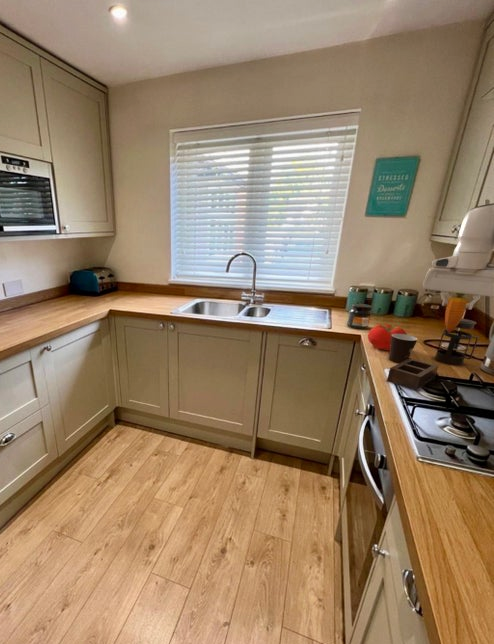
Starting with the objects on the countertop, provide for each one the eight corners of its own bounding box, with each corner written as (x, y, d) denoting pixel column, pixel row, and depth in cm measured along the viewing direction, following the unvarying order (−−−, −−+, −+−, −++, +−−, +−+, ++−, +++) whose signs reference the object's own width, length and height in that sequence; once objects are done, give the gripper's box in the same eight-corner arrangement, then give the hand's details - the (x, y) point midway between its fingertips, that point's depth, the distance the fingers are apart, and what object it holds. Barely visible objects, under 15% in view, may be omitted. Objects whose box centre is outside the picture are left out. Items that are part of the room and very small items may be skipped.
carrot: (457, 331, 108) (471, 285, 103) (460, 335, 104) (474, 287, 99) (438, 329, 110) (451, 283, 105) (440, 332, 106) (454, 285, 101)
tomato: (407, 348, 147) (413, 326, 144) (397, 356, 136) (403, 333, 133) (373, 340, 157) (377, 320, 153) (360, 347, 146) (365, 326, 142)
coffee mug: (398, 365, 127) (405, 341, 124) (380, 357, 135) (386, 334, 131) (421, 363, 130) (429, 339, 127) (402, 355, 138) (408, 332, 134)
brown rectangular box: (434, 378, 116) (438, 365, 114) (416, 391, 107) (420, 377, 105) (406, 370, 123) (409, 358, 121) (386, 381, 113) (390, 367, 112)
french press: (429, 359, 134) (446, 303, 126) (435, 354, 140) (452, 301, 132) (465, 368, 126) (486, 309, 118) (470, 363, 132) (491, 306, 124)
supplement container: (367, 330, 172) (372, 308, 168) (345, 327, 177) (349, 305, 173) (368, 326, 180) (373, 304, 176) (347, 323, 185) (351, 302, 181)
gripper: (518, 264, 94) (502, 312, 98) (433, 259, 109) (423, 301, 114) (513, 265, 90) (497, 314, 95) (426, 260, 105) (416, 303, 110)
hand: (456, 307), depth 104 cm, fingers closed on carrot, 4 cm apart
